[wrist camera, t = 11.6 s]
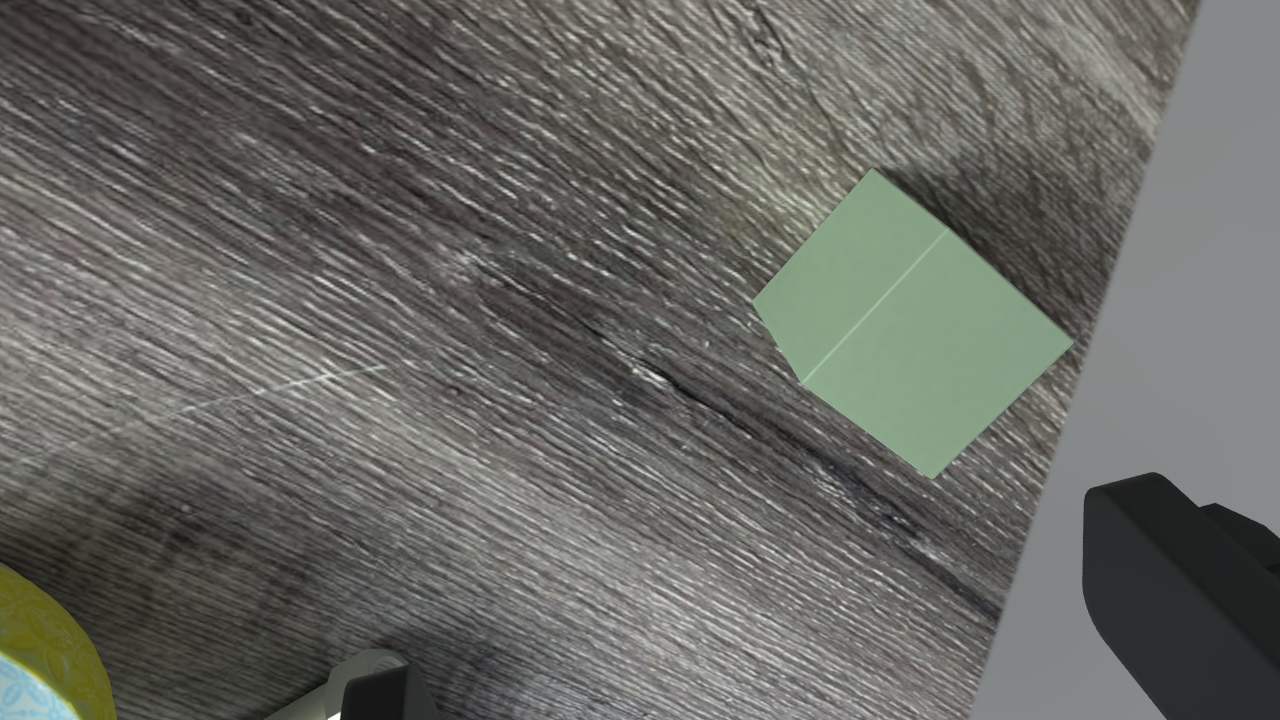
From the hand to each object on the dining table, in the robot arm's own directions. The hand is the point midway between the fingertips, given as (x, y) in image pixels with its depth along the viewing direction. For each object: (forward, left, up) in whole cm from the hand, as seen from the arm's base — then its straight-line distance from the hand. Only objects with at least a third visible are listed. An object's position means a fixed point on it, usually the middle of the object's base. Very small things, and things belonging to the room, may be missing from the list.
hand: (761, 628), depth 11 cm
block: (-3, +8, -17) cm, 18 cm away
